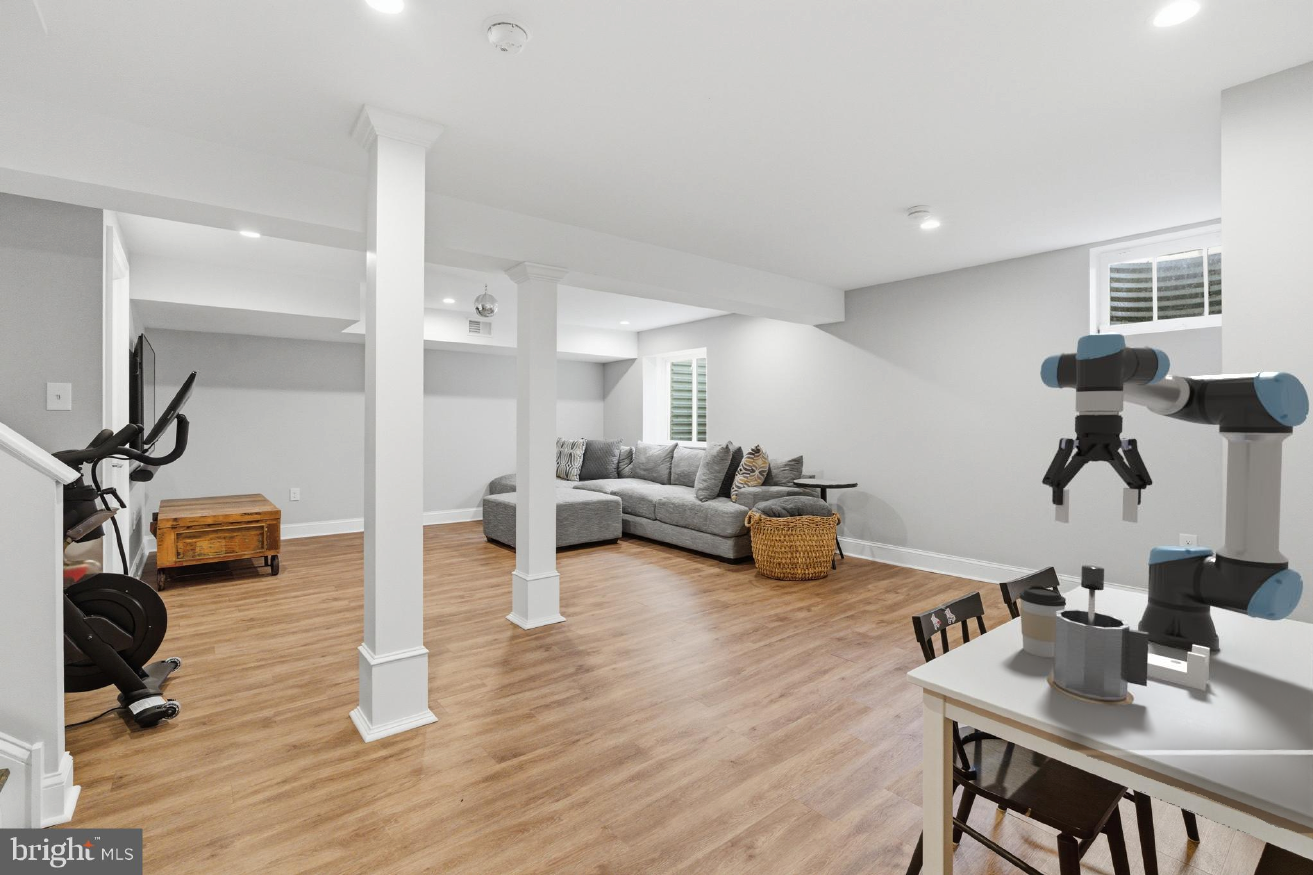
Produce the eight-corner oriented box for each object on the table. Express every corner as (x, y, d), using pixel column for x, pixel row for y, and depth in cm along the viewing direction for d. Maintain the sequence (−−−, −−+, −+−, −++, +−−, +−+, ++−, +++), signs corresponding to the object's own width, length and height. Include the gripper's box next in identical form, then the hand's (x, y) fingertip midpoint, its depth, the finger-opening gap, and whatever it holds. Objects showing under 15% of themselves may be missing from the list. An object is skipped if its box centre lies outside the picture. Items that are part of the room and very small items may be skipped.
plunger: (1094, 659, 123) (1097, 562, 123) (1125, 675, 115) (1129, 572, 115) (1055, 658, 123) (1058, 562, 123) (1084, 675, 115) (1087, 572, 115)
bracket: (1208, 684, 124) (1209, 647, 124) (1203, 694, 119) (1204, 656, 119) (1129, 664, 134) (1130, 630, 134) (1121, 673, 129) (1123, 638, 129)
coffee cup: (1072, 663, 133) (1074, 596, 133) (1027, 659, 135) (1029, 593, 135) (1053, 648, 142) (1055, 585, 142) (1011, 645, 144) (1013, 582, 143)
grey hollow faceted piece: (1102, 675, 126) (1105, 609, 125) (1150, 702, 114) (1153, 629, 113) (1040, 675, 125) (1042, 609, 125) (1081, 702, 113) (1083, 629, 113)
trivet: (1097, 676, 127) (1097, 673, 127) (1153, 708, 113) (1153, 705, 113) (1031, 676, 126) (1031, 673, 126) (1079, 708, 112) (1079, 705, 112)
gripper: (1145, 413, 122) (1142, 518, 123) (1023, 413, 121) (1021, 518, 122) (1178, 413, 114) (1174, 524, 115) (1048, 413, 114) (1046, 525, 115)
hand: (1095, 521), depth 119 cm, fingers open, 13 cm apart
